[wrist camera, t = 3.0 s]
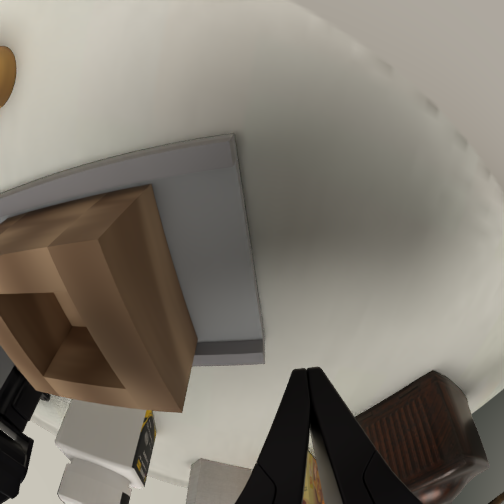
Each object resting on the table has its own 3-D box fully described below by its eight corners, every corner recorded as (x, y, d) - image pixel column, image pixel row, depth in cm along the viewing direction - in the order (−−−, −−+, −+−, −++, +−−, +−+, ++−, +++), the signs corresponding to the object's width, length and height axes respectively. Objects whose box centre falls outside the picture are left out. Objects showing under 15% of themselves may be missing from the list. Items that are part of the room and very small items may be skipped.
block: (66, 336, 18) (36, 390, 14) (7, 218, 13) (-47, 263, 9) (197, 339, 17) (182, 412, 13) (151, 183, 12) (97, 239, 8)
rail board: (22, 335, 20) (-19, 402, 13) (-39, 211, 14) (-108, 268, 7) (264, 338, 18) (263, 460, 11) (233, 133, 12) (194, 198, 5)
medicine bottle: (157, 432, 27) (136, 531, 16) (95, 415, 26) (66, 507, 16) (151, 400, 23) (121, 524, 13) (79, 380, 23) (35, 489, 12)
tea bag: (201, 458, 30) (192, 530, 21) (251, 469, 31) (248, 536, 23) (191, 464, 32) (182, 530, 23) (238, 475, 33) (234, 537, 24)
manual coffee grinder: (392, 442, 28) (413, 571, 12) (337, 424, 24) (353, 597, 9) (504, 368, 21) (557, 504, 6) (482, 328, 18) (562, 522, 3)
